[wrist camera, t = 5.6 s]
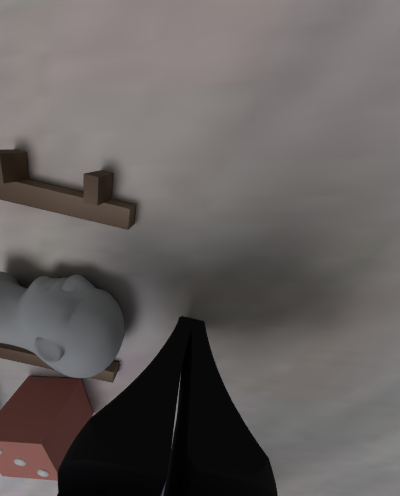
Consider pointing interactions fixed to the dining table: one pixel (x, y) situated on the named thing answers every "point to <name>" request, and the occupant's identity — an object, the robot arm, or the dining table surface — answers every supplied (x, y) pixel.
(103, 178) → the brown wooden frame
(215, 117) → the dining table surface
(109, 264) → the dining table surface
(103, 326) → the smooth white sculpture
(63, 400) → the die
